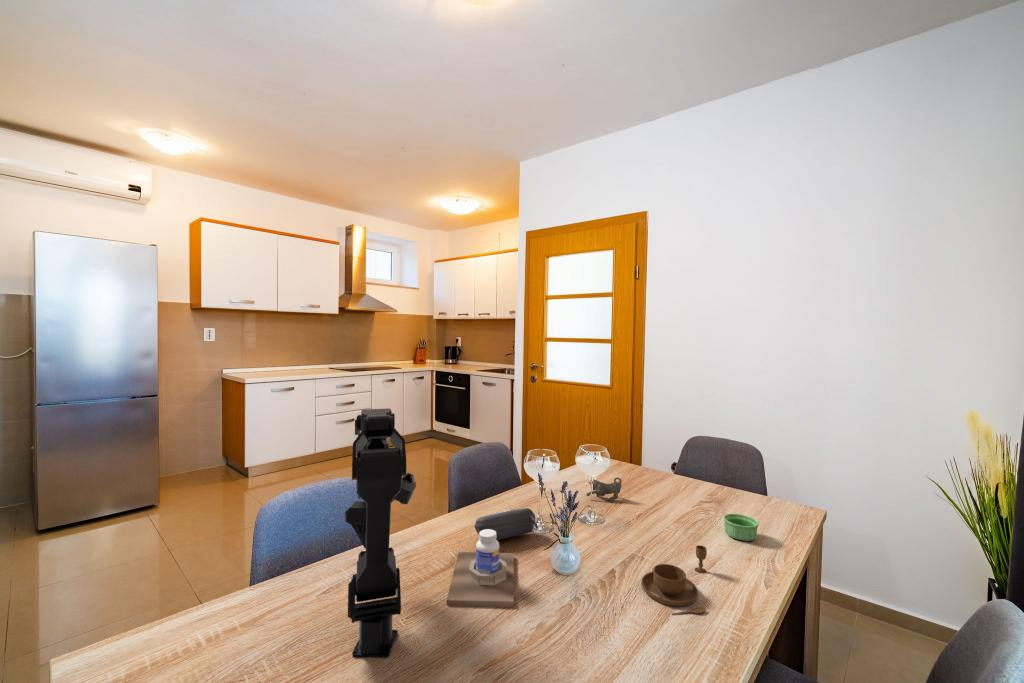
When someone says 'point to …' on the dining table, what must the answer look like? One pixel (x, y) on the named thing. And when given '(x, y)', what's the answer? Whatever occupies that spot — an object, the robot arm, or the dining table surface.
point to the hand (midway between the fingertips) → (374, 537)
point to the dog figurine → (606, 489)
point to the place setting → (674, 584)
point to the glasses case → (508, 523)
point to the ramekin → (740, 526)
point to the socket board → (482, 583)
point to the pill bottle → (487, 552)
